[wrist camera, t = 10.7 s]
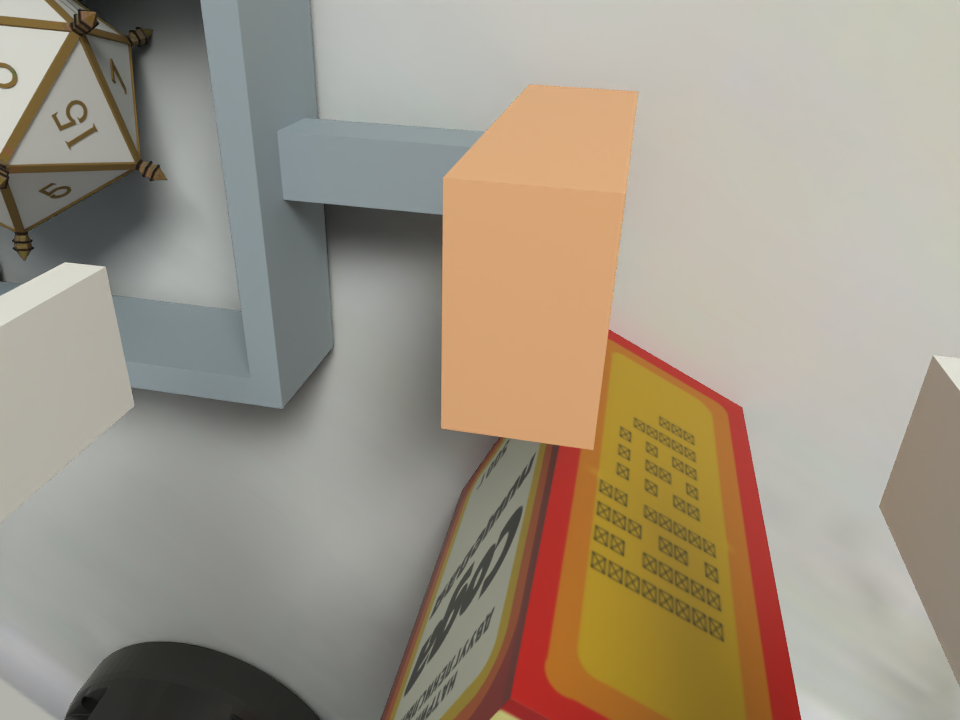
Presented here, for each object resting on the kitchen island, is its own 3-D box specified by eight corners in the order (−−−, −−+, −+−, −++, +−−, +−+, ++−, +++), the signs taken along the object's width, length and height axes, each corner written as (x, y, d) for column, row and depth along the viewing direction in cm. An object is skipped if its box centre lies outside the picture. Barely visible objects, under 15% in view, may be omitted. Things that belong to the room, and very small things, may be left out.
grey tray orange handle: (601, 380, 27) (570, 633, 17) (-17, 301, 31) (-335, 468, 21) (665, -121, 20) (675, -191, 10) (-154, -139, 24) (-741, -202, 14)
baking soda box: (584, 315, 26) (506, 717, 13) (742, 407, 27) (833, 893, 13) (462, 490, 31) (308, 920, 17) (597, 566, 32) (553, 1044, 18)
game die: (132, 102, 30) (-133, 227, 25) (26, -147, 24) (-356, -40, 19) (268, 191, 26) (-20, 360, 21) (184, -82, 19) (-256, 75, 15)
